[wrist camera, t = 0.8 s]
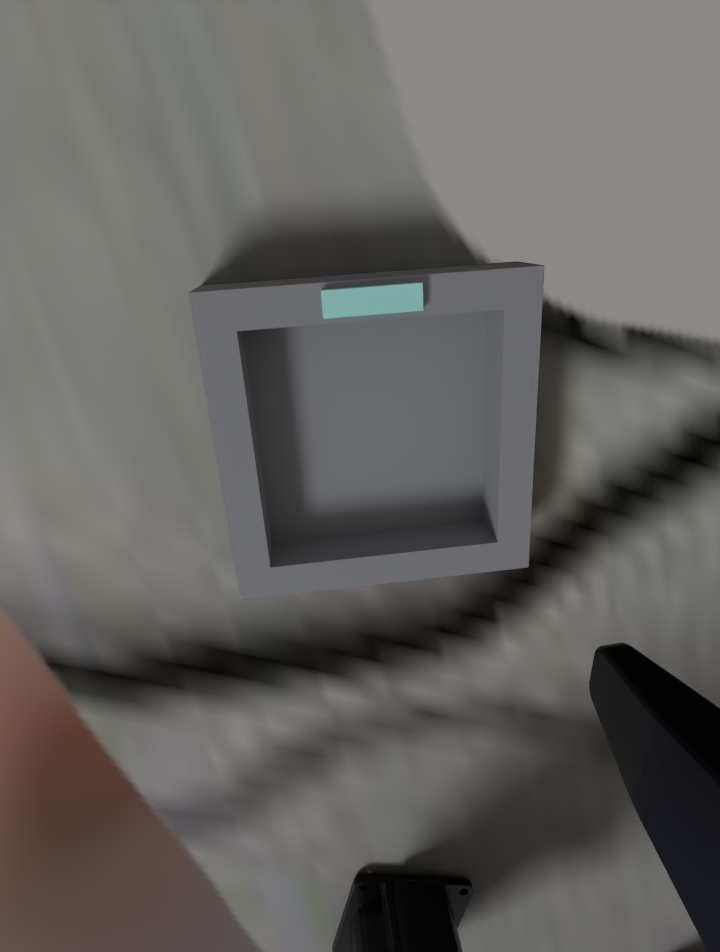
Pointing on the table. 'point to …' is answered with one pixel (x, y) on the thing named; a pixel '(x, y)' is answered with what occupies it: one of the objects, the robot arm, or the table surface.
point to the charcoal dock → (374, 423)
